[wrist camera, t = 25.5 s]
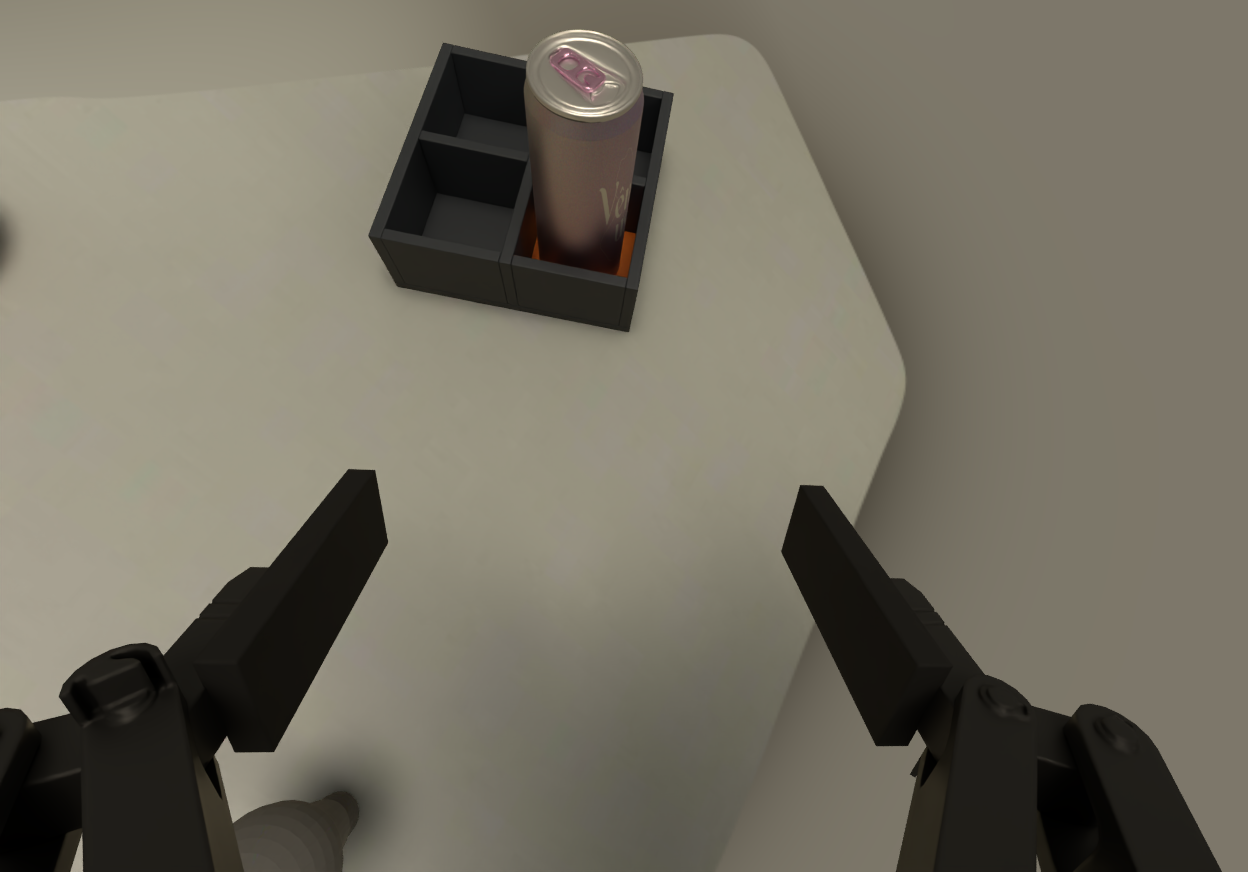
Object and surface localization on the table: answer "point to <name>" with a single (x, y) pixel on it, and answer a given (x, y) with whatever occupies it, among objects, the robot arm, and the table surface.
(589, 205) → the beverage can
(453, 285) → the tray
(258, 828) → the light bulb
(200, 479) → the table surface
